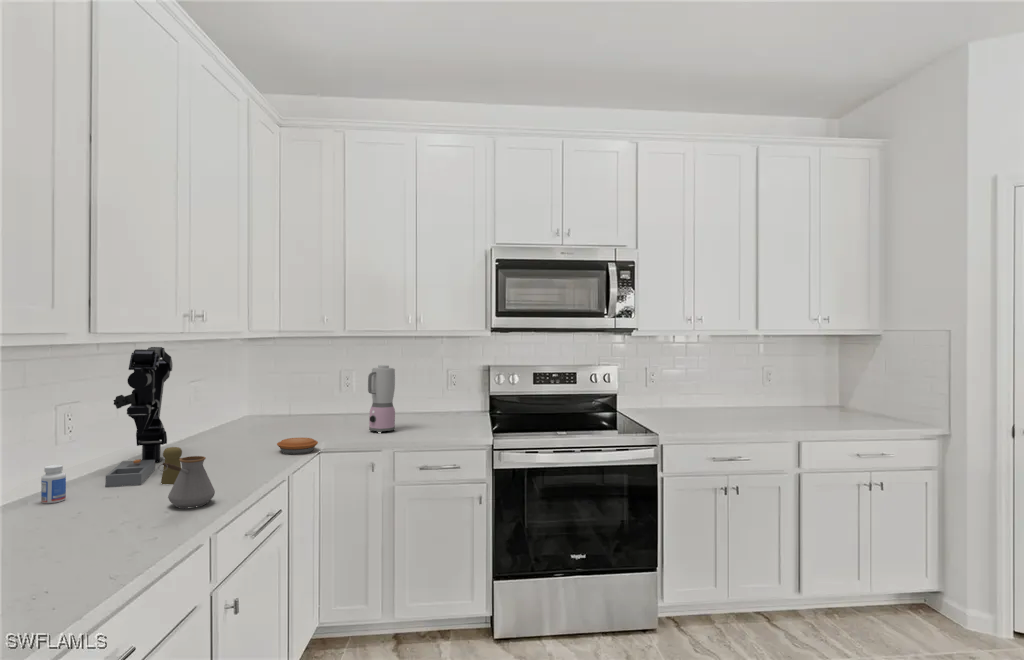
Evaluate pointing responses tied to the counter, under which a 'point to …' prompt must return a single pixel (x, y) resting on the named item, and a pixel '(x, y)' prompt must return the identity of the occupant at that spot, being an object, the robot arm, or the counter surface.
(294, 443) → the pie
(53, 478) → the pill bottle
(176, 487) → the coffee pot
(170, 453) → the cork
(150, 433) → the robot arm
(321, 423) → the counter surface
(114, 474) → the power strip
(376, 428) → the blender
